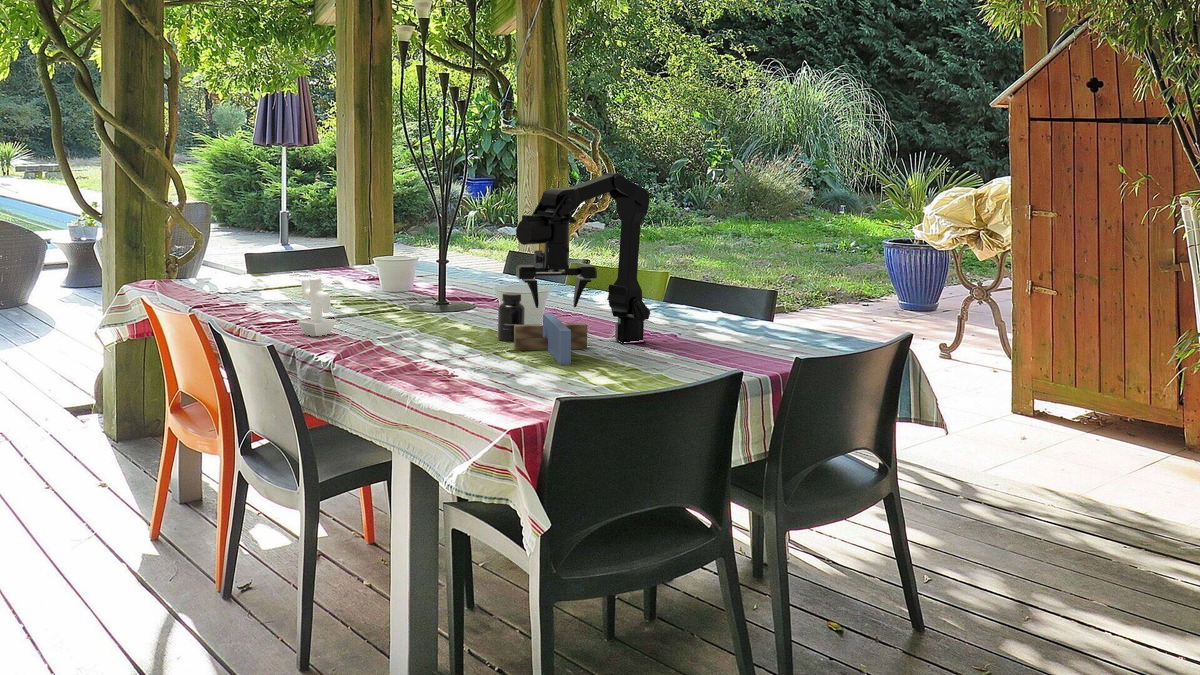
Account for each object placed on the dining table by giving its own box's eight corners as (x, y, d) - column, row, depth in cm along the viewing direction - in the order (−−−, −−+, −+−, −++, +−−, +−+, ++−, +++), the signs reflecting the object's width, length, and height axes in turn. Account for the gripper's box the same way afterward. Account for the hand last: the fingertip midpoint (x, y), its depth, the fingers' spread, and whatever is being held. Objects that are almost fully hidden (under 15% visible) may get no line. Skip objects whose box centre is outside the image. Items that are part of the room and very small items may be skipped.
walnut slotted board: (584, 346, 262) (585, 323, 261) (587, 348, 260) (587, 324, 259) (514, 348, 258) (514, 324, 257) (515, 350, 256) (515, 326, 255)
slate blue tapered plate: (542, 344, 263) (543, 313, 262) (552, 344, 264) (552, 313, 262) (560, 365, 240) (560, 331, 239) (570, 364, 241) (571, 330, 239)
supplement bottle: (506, 343, 265) (506, 296, 263) (493, 338, 270) (493, 293, 268) (529, 340, 269) (529, 294, 267) (515, 336, 274) (515, 291, 272)
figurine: (318, 339, 265) (316, 280, 263) (294, 334, 271) (292, 277, 268) (340, 335, 271) (338, 277, 268) (316, 330, 277) (314, 274, 274)
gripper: (588, 239, 257) (586, 301, 260) (512, 239, 253) (512, 302, 256) (598, 243, 246) (596, 309, 249) (519, 244, 242) (519, 310, 245)
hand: (555, 307), depth 250 cm, fingers open, 9 cm apart
